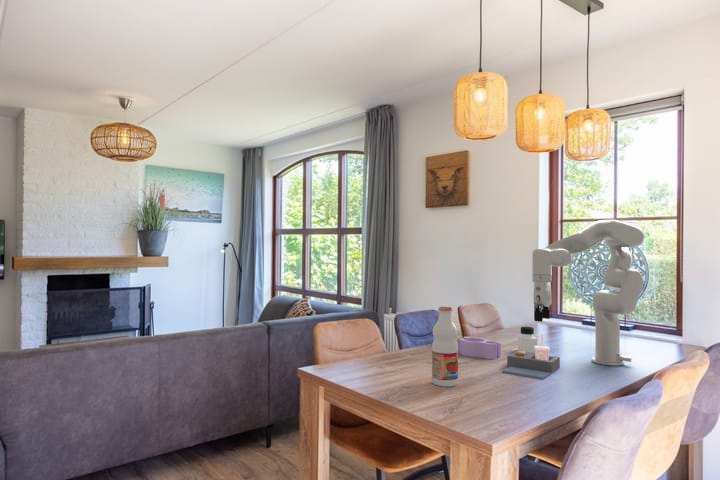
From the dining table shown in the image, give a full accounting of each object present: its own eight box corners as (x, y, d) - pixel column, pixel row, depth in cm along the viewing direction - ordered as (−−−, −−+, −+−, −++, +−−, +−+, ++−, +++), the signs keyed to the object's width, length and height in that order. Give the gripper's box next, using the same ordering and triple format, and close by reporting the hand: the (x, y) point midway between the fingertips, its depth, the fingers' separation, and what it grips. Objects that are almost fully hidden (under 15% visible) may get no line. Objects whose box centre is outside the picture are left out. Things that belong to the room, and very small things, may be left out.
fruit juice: (437, 378, 179) (437, 305, 180) (461, 382, 175) (461, 306, 175) (428, 384, 171) (428, 307, 171) (453, 388, 166) (453, 309, 167)
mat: (550, 374, 186) (550, 372, 186) (543, 379, 179) (543, 377, 179) (510, 368, 196) (510, 366, 196) (502, 372, 189) (502, 370, 189)
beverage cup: (530, 367, 197) (530, 334, 197) (542, 366, 199) (542, 333, 199) (541, 371, 191) (541, 336, 191) (553, 369, 193) (553, 335, 194)
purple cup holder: (505, 356, 217) (505, 341, 217) (491, 361, 208) (491, 345, 208) (467, 349, 231) (467, 335, 231) (453, 353, 222) (453, 339, 222)
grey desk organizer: (559, 367, 197) (559, 357, 197) (551, 373, 187) (551, 362, 187) (517, 361, 208) (517, 351, 208) (507, 366, 198) (507, 355, 198)
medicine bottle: (537, 353, 224) (537, 328, 224) (522, 353, 224) (522, 327, 224) (532, 350, 231) (532, 325, 231) (517, 349, 231) (517, 325, 231)
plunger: (526, 363, 201) (526, 351, 201) (523, 365, 198) (523, 353, 198) (517, 361, 203) (517, 350, 204) (514, 363, 200) (514, 351, 200)
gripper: (545, 280, 187) (545, 323, 186) (557, 278, 200) (557, 318, 200) (526, 279, 191) (526, 321, 191) (539, 277, 205) (539, 316, 205)
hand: (541, 319), depth 196 cm, fingers open, 9 cm apart
